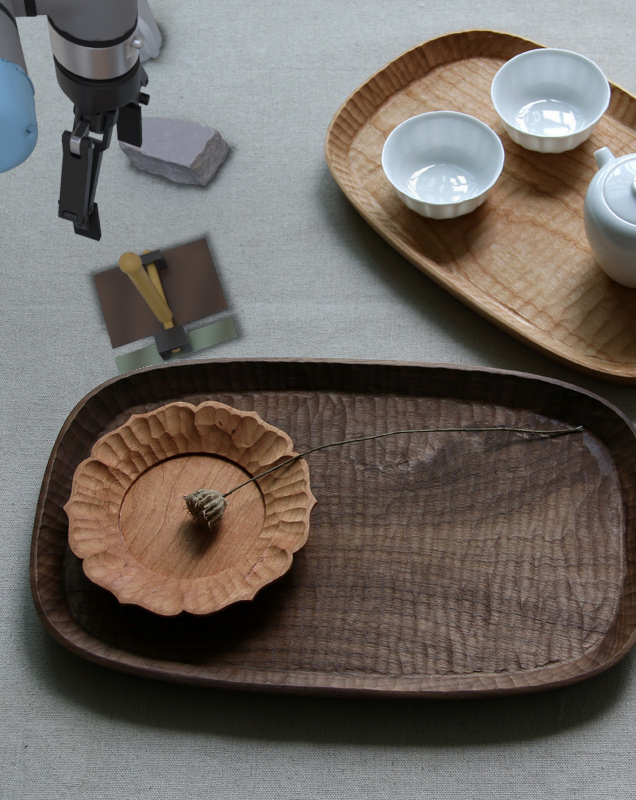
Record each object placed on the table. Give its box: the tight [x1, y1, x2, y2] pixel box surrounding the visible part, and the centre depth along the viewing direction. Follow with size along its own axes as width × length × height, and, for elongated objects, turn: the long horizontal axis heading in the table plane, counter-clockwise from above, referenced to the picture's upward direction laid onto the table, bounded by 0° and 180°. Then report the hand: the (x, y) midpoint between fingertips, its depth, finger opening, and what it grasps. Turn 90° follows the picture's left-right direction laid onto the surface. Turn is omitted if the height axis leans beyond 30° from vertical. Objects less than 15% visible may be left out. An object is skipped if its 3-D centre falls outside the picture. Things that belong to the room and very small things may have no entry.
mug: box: [137, 0, 163, 63], centre depth 123 cm, size 12×8×11 cm
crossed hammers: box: [118, 249, 180, 352], centre depth 102 cm, size 3×16×16 cm, turn 21°
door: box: [92, 237, 239, 375], centre depth 108 cm, size 16×16×4 cm
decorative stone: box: [117, 116, 230, 188], centre depth 116 cm, size 15×7×10 cm
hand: (109, 187), depth 93 cm, fingers open, 13 cm apart
